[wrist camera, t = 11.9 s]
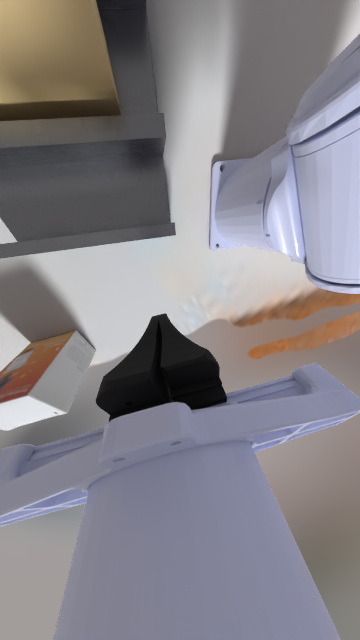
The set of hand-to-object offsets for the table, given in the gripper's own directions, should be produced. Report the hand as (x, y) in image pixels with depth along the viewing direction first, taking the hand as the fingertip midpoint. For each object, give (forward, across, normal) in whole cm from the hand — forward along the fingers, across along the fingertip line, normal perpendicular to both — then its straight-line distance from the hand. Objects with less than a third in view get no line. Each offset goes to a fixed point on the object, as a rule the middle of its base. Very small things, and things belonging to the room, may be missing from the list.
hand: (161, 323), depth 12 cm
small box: (+10, +18, +7) cm, 22 cm away
